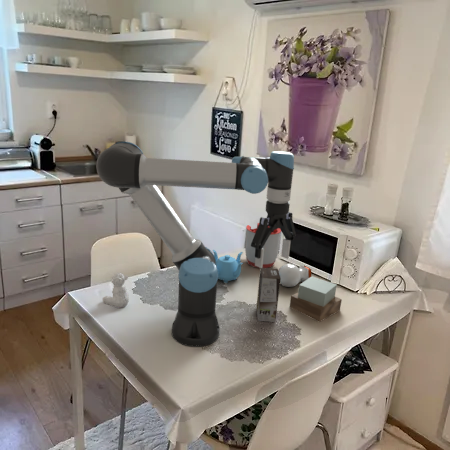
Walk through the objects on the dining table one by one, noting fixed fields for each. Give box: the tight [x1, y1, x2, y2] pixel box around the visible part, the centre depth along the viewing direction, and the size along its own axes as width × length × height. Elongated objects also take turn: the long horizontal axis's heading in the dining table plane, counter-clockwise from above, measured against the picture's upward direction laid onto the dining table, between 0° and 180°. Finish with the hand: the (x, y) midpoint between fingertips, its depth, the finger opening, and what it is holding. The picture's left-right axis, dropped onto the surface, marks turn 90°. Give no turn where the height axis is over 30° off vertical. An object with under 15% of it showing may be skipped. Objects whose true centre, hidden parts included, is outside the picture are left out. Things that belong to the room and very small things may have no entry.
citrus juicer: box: [244, 222, 282, 269], centre depth 191 cm, size 16×17×20 cm
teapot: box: [212, 249, 244, 284], centre depth 174 cm, size 13×13×10 cm
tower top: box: [297, 275, 338, 307], centre depth 154 cm, size 10×10×5 cm
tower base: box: [289, 292, 343, 323], centre depth 156 cm, size 13×13×5 cm
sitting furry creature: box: [102, 272, 130, 309], centre depth 149 cm, size 10×9×12 cm
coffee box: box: [256, 267, 281, 323], centre depth 147 cm, size 9×6×16 cm
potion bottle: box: [278, 262, 312, 288], centre depth 174 cm, size 9×10×15 cm
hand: (272, 261), depth 144 cm, fingers open, 13 cm apart
